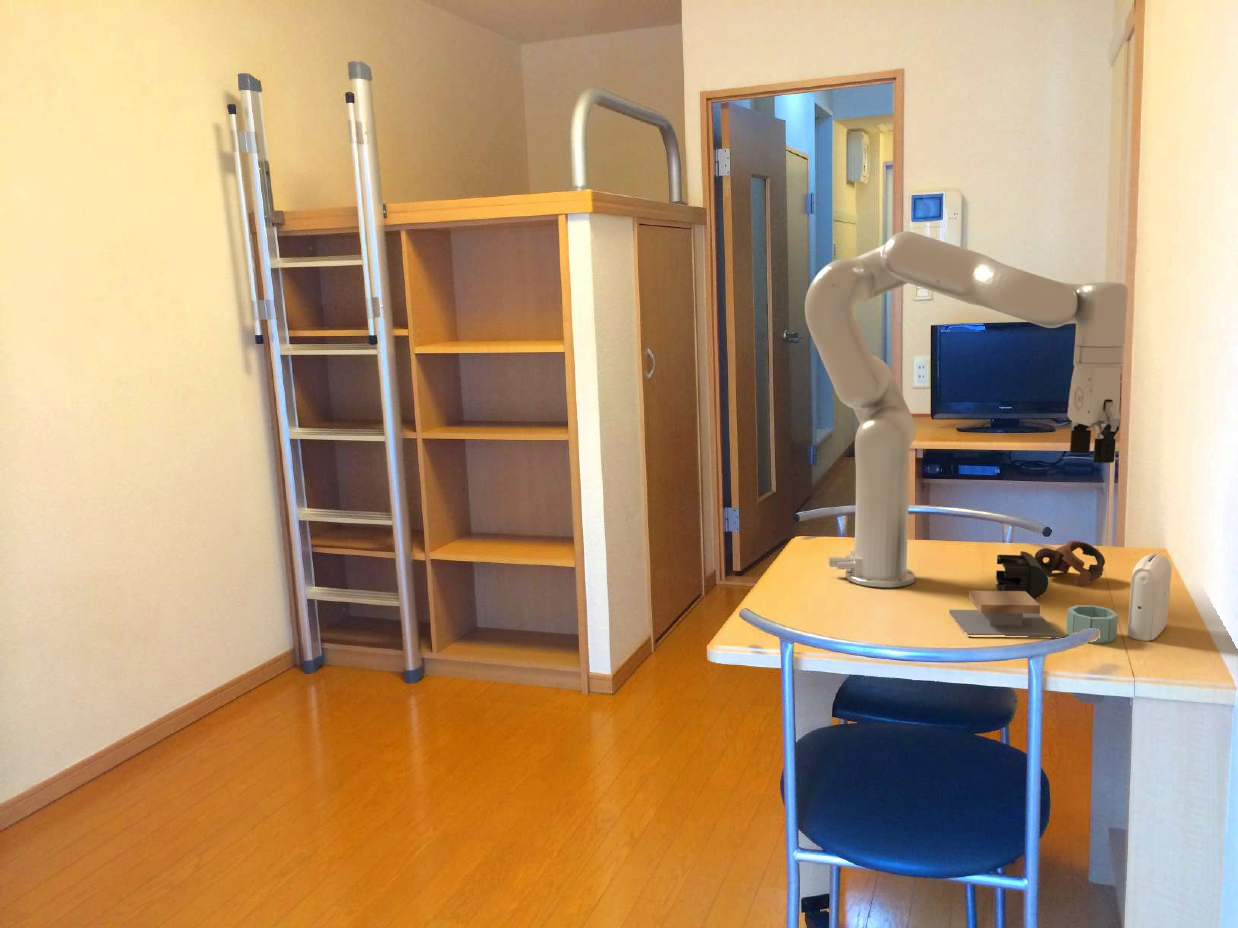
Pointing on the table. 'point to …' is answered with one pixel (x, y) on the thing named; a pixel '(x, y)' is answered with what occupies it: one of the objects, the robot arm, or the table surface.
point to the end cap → (1021, 575)
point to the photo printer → (1149, 597)
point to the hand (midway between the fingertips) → (1091, 457)
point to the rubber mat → (984, 629)
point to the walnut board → (1004, 602)
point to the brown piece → (1071, 561)
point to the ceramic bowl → (1093, 621)
